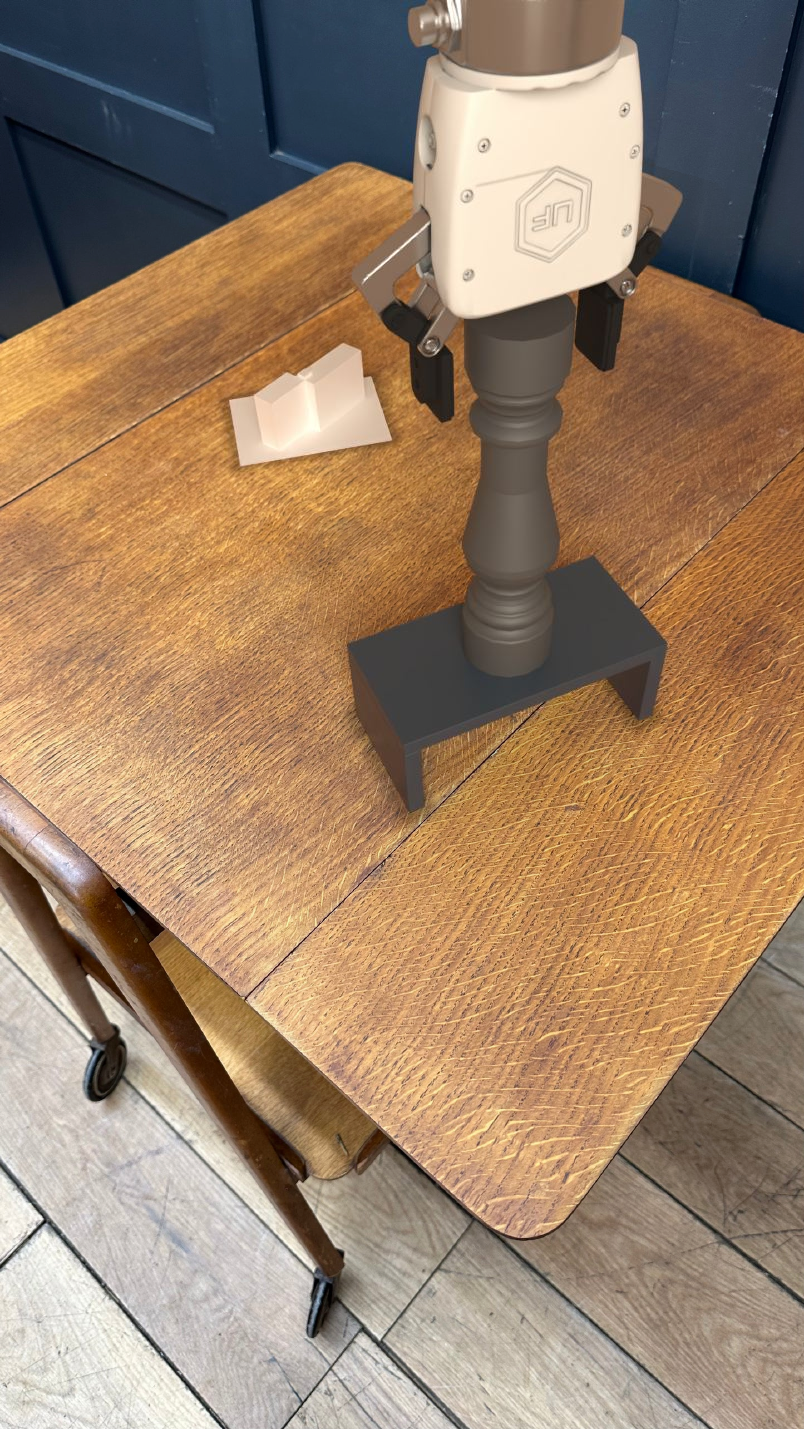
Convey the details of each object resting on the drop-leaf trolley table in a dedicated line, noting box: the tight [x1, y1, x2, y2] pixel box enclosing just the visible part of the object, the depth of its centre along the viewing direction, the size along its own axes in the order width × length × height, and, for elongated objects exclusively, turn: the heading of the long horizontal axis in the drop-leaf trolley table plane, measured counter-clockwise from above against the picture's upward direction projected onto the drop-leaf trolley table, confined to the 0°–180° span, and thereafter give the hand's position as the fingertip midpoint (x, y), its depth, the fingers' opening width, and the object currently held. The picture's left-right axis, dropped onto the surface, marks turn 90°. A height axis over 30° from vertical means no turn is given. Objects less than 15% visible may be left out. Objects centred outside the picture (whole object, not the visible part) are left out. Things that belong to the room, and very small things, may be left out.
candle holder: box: [461, 294, 577, 677], centre depth 62 cm, size 6×6×25 cm
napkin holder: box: [228, 342, 393, 467], centre depth 100 cm, size 15×11×6 cm
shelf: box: [346, 555, 669, 814], centre depth 75 cm, size 20×10×8 cm, turn 114°
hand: (516, 382), depth 55 cm, fingers open, 9 cm apart
